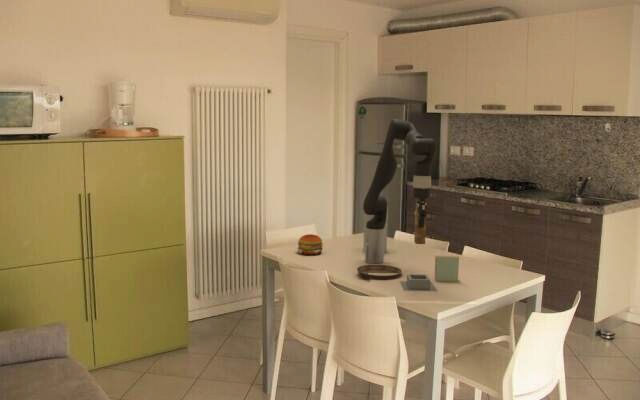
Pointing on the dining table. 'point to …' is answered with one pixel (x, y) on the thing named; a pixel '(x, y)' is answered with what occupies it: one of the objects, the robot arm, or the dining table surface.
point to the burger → (310, 244)
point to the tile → (446, 268)
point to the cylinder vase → (366, 219)
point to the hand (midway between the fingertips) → (420, 226)
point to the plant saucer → (378, 271)
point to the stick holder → (417, 283)
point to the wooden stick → (419, 229)
